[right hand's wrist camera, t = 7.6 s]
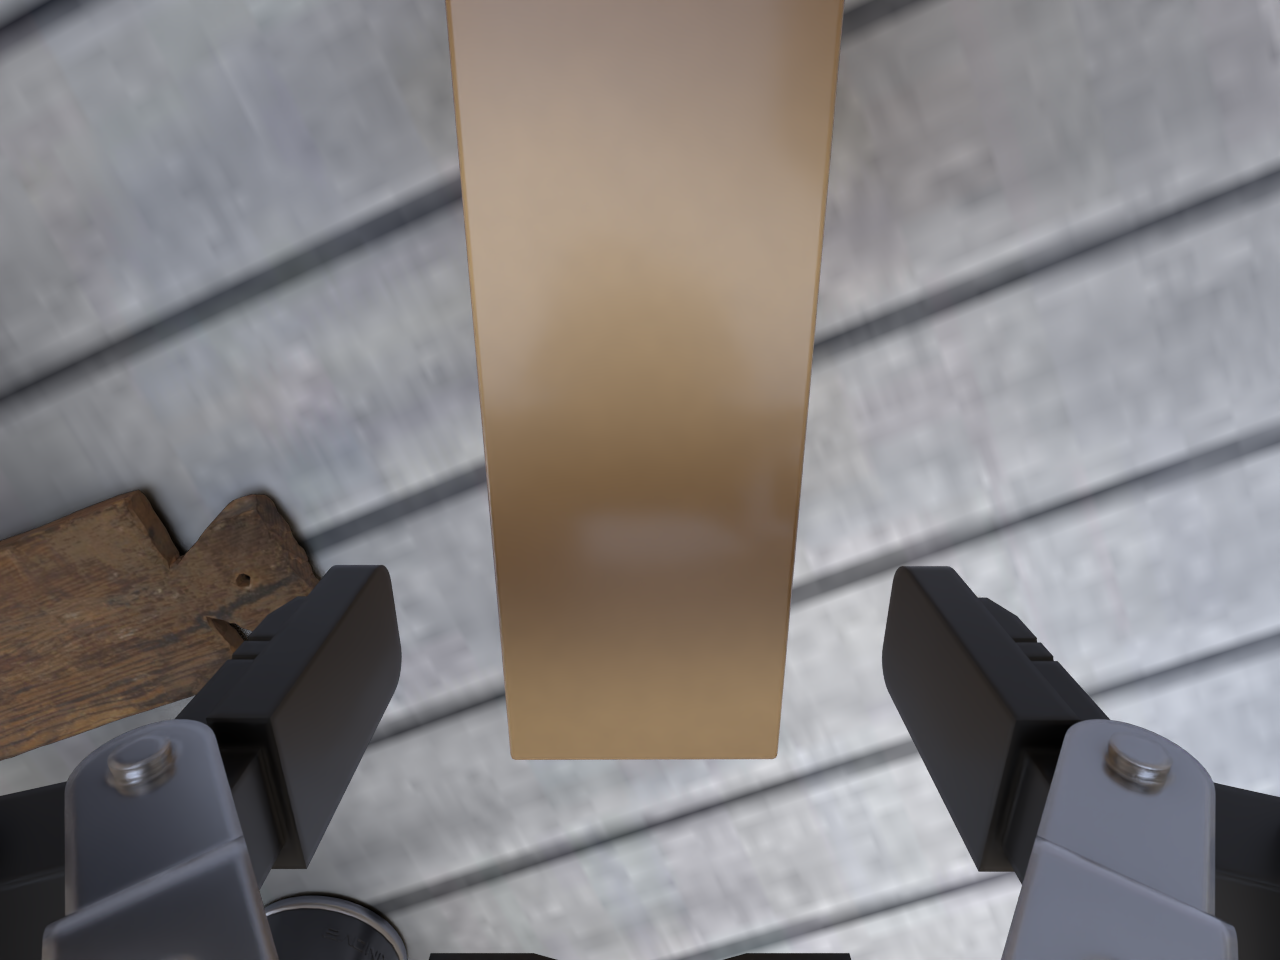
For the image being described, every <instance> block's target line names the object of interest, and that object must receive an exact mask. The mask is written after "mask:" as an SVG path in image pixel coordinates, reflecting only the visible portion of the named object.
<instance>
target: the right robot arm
mask: <svg viewBox="0 0 1280 960" xmlns="http://www.w3.org/2000/svg"><path fill="white" fill-rule="evenodd" d="M401 657H402V656H401V644H400V638H399V631H398V624H397V618H396V611H395V604H394V598H393V591H392V584H391V579H390V575H389V572H388V570H387V568H386V567H385V566H383V565H335V566H333V567H331V568H330V569H329V571H328V572H327V573H326V574H325V575H324V577H323V578H322V579H321V580H320V581H319V583H318V584H317V585H316V586H315V587H314V589H313V590H312V591H311V592H310V593H309V595H308V596H297V597H296V598H294V599H292V600H291V601H289V602H288V603H286V604H284V605H283V606H281V607H279V608H278V609H276V610H275V611H273V612H271V613H270V614H268V615H267V616H266V617H265V618H264V619H263V620H262V622H261V623H260V624H259V625H258V626H257V627H256V628H255V629H254V631H253V632H252V633H251V634H250V635H249V636H248V641H244V642H243V643H242V644H241V645H240V646H239V647H238V649H237V650H236V651H235V652H234V653H233V654H232V659H228V660H227V661H226V662H225V663H224V664H223V665H222V666H221V668H220V669H219V670H218V671H217V672H216V673H215V674H214V675H213V677H212V678H211V679H210V680H209V681H208V682H207V683H206V684H205V686H204V687H203V688H202V689H201V690H200V691H199V692H198V693H197V695H196V696H195V697H194V698H193V699H192V700H191V701H190V702H189V704H188V705H187V706H186V707H185V708H184V709H183V710H182V711H181V712H180V714H179V715H178V716H177V717H176V718H175V719H174V720H166V721H160V722H156V723H151V724H148V725H145V726H142V727H138V728H136V729H133V730H131V731H128V732H126V733H124V734H122V735H120V736H118V737H116V738H114V739H112V740H110V741H108V742H107V743H105V744H103V745H102V746H100V747H99V748H98V749H96V750H95V751H93V752H92V753H91V754H90V755H88V756H87V757H86V758H85V759H84V760H83V761H82V762H81V763H80V764H79V765H78V766H77V767H76V768H75V769H74V771H73V772H72V774H71V775H70V776H69V779H68V781H67V782H62V783H58V784H53V785H49V786H44V787H40V788H35V789H31V790H26V791H21V792H17V793H12V794H8V795H3V796H0V960H407V953H406V949H405V946H404V943H403V941H402V939H401V938H400V936H399V935H398V933H397V932H396V931H395V929H394V928H393V927H392V926H391V925H390V924H389V923H388V922H387V921H385V920H384V919H383V918H382V917H380V916H379V915H377V914H376V913H374V912H372V911H371V910H369V909H367V908H365V907H363V906H360V905H358V904H355V903H353V902H349V901H346V900H342V899H338V898H333V897H325V896H299V897H292V898H287V899H284V900H280V901H277V902H275V903H272V904H270V905H268V906H266V907H265V908H264V905H263V902H262V898H261V895H260V891H259V890H260V888H261V886H262V885H263V883H264V881H265V879H266V877H267V875H268V874H269V872H270V870H271V869H307V867H308V865H309V863H310V861H311V859H312V857H313V855H314V853H315V851H316V849H317V847H318V845H319V843H320V841H321V839H322V837H323V835H324V833H325V831H326V829H327V827H328V825H329V823H330V821H331V819H332V817H333V815H334V813H335V811H336V809H337V807H338V805H339V803H340V801H341V799H342V797H343V795H344V793H345V791H346V789H347V787H348V785H349V783H350V781H351V779H352V777H353V775H354V773H355V771H356V769H357V766H358V764H359V762H360V760H361V758H362V756H363V754H364V752H365V750H366V748H367V746H368V744H369V742H370V740H371V738H372V736H373V734H374V732H375V730H376V728H377V726H378V724H379V722H380V720H381V718H382V716H383V714H384V712H385V710H386V708H387V706H388V704H389V702H390V700H391V698H392V696H393V694H394V692H395V690H396V687H397V684H398V681H399V677H400V671H401ZM882 667H883V675H884V680H885V684H886V687H887V689H888V692H889V694H890V696H891V698H892V700H893V702H894V704H895V706H896V708H897V710H898V712H899V714H900V716H901V718H902V720H903V722H904V724H905V726H906V728H907V730H908V732H909V734H910V736H911V738H912V740H913V742H914V744H915V746H916V748H917V750H918V752H919V754H920V756H921V758H922V760H923V762H924V764H925V766H926V768H927V770H928V772H929V774H930V776H931V778H932V779H933V781H934V783H935V785H936V787H937V789H938V791H939V793H940V795H941V797H942V799H943V801H944V803H945V805H946V807H947V809H948V811H949V813H950V815H951V817H952V819H953V821H954V823H955V825H956V827H957V829H958V831H959V833H960V835H961V837H962V839H963V841H964V843H965V845H966V847H967V849H968V851H969V853H970V855H971V857H972V859H973V861H974V863H975V865H976V867H977V869H978V871H979V872H1015V873H1016V875H1017V877H1018V878H1019V880H1020V882H1021V884H1022V888H1021V891H1020V895H1019V898H1018V902H1017V905H1016V909H1015V912H1014V916H1013V920H1012V923H1011V927H1010V930H1009V934H1008V937H1007V941H1006V944H1005V948H1004V951H1003V955H1002V958H1001V960H1280V797H1276V796H1272V795H1267V794H1263V793H1258V792H1253V791H1249V790H1244V789H1240V788H1235V787H1231V786H1226V785H1222V784H1218V783H1214V782H1213V781H1212V779H1211V776H1210V775H1209V774H1208V772H1207V771H1206V769H1205V768H1204V767H1203V766H1202V765H1201V764H1200V763H1199V762H1198V761H1197V760H1196V759H1195V758H1194V757H1193V756H1192V755H1190V754H1189V753H1188V752H1187V751H1185V750H1184V749H1182V748H1181V747H1180V746H1178V745H1177V744H1175V743H1173V742H1172V741H1170V740H1168V739H1166V738H1164V737H1162V736H1160V735H1158V734H1156V733H1154V732H1152V731H1149V730H1147V729H1144V728H1142V727H1138V726H1135V725H1132V724H1129V723H1124V722H1120V721H1114V720H1110V719H1109V718H1108V717H1107V716H1106V715H1105V713H1104V712H1103V711H1102V710H1101V709H1100V708H1099V707H1098V706H1097V705H1096V703H1095V702H1094V701H1093V700H1092V699H1091V698H1090V697H1089V696H1088V695H1087V693H1086V692H1085V691H1084V690H1083V689H1082V688H1081V687H1080V686H1079V685H1078V683H1077V682H1076V681H1075V680H1074V679H1073V678H1072V677H1071V676H1070V674H1069V673H1068V672H1067V671H1066V670H1065V669H1064V668H1063V667H1062V666H1061V664H1060V663H1059V662H1058V661H1054V660H1053V656H1052V654H1051V653H1050V652H1049V651H1048V650H1047V649H1046V648H1045V647H1044V646H1043V644H1042V643H1037V638H1036V637H1035V636H1034V634H1033V633H1032V632H1031V631H1030V630H1029V629H1028V628H1027V627H1026V626H1025V624H1024V623H1023V622H1022V621H1021V620H1020V619H1019V618H1018V617H1017V616H1016V615H1014V614H1013V613H1011V612H1009V611H1008V610H1006V609H1004V608H1003V607H1001V606H1000V605H998V604H996V603H995V602H993V601H991V600H990V599H988V598H977V596H976V595H975V594H974V593H973V592H972V590H971V589H970V588H969V587H968V586H967V584H966V583H965V582H964V581H963V580H962V579H961V577H960V576H959V575H958V574H957V573H956V571H955V570H954V569H953V568H951V567H948V566H901V567H899V568H898V569H897V571H896V573H895V575H894V579H893V584H892V591H891V597H890V604H889V611H888V617H887V624H886V630H885V637H884V643H883V651H882ZM429 960H556V959H552V958H549V957H545V956H541V955H538V954H534V953H431V954H430V958H429ZM724 960H851V958H850V954H849V953H746V954H742V955H739V956H735V957H731V958H728V959H724Z"/></svg>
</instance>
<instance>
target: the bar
mask: <svg viewBox="0 0 1280 960" xmlns="http://www.w3.org/2000/svg"><path fill="white" fill-rule="evenodd" d="M844 1H845V0H445V5H446V16H447V28H448V39H449V51H450V62H451V74H452V85H453V97H454V108H455V120H456V131H457V143H458V154H459V166H460V177H461V189H462V200H463V212H464V223H465V235H466V246H467V258H468V269H469V281H470V292H471V304H472V315H473V327H474V338H475V350H476V362H477V373H478V385H479V396H480V408H481V419H482V431H483V442H484V454H485V465H486V477H487V488H488V500H489V511H490V523H491V534H492V546H493V557H494V569H495V580H496V592H497V603H498V615H499V626H500V638H501V649H502V661H503V672H504V684H505V695H506V707H507V718H508V730H509V741H510V753H511V757H512V759H515V760H584V759H774V758H776V756H777V753H778V741H779V730H780V719H781V708H782V696H783V685H784V674H785V663H786V652H787V640H788V629H789V618H790V607H791V596H792V584H793V573H794V562H795V551H796V539H797V528H798V517H799V506H800V495H801V483H802V472H803V461H804V450H805V439H806V427H807V416H808V405H809V394H810V382H811V371H812V360H813V349H814V338H815V326H816V315H817V304H818V293H819V282H820V270H821V259H822V248H823V237H824V226H825V214H826V203H827V192H828V181H829V169H830V158H831V147H832V136H833V125H834V113H835V102H836V91H837V80H838V69H839V57H840V46H841V35H842V24H843V12H844Z"/></svg>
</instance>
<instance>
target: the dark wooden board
mask: <svg viewBox="0 0 1280 960" xmlns="http://www.w3.org/2000/svg"><path fill="white" fill-rule="evenodd" d="M318 583H319V580H318V579H317V578H316V577H315V576H314V574H313V571H312V568H311V565H310V564H309V562H308V557H307V555H306V552H305V550H304V549H303V548H302V547H301V546H299V545H298V543H297V541H296V540H295V539H294V537H293V535H292V532H291V529H290V526H289V524H288V523H287V522H286V521H285V519H284V518H283V517H282V516H281V514H280V513H278V511H277V508H276V506H275V504H274V502H273V501H272V500H271V499H270V498H269V497H267V496H266V495H265V494H263V495H255V494H251V495H247V496H244V497H241V498H238V499H236V500H233V501H232V502H230V503H229V504H228V505H227V506H226V507H225V508H224V509H223V510H222V512H221V513H220V514H219V515H218V516H217V517H216V518H215V519H214V521H213V522H212V523H211V524H210V525H209V526H208V527H207V529H206V530H205V531H204V532H203V533H202V535H201V536H200V538H199V539H198V541H197V542H196V543H195V544H194V545H193V546H192V547H191V548H190V549H189V551H188V552H187V553H186V554H185V556H184V555H183V556H180V555H179V552H178V550H177V548H176V547H175V545H174V544H173V542H172V540H171V538H170V536H169V534H168V532H167V530H166V528H165V526H164V525H163V524H162V522H161V521H160V519H159V518H158V516H157V515H156V513H155V512H154V510H153V508H152V506H151V504H150V502H149V500H148V499H147V498H146V496H145V495H144V494H143V493H142V492H141V491H139V490H136V491H132V492H129V493H125V494H122V495H118V496H116V497H113V498H110V499H108V500H105V501H103V502H100V503H97V504H95V505H92V506H89V507H87V508H84V509H82V510H79V511H77V512H74V513H72V514H70V515H68V516H65V517H63V518H60V519H58V520H55V521H53V522H51V523H48V524H46V525H44V526H41V527H39V528H36V529H33V530H30V531H27V532H24V533H22V534H19V535H16V536H13V537H10V538H7V539H4V540H1V541H0V761H1V760H4V759H8V758H12V757H15V756H17V755H20V754H22V753H25V752H28V751H30V750H33V749H36V748H38V747H41V746H45V745H48V744H52V743H54V742H57V741H60V740H63V739H66V738H69V737H72V736H75V735H78V734H80V733H83V732H86V731H89V730H92V729H95V728H97V727H100V726H103V725H105V724H108V723H111V722H114V721H117V720H119V719H122V718H125V717H128V716H132V715H135V714H138V713H142V712H145V711H148V710H151V709H154V708H157V707H160V706H163V705H166V704H169V703H173V702H176V701H178V700H181V699H185V698H188V697H191V696H194V695H197V693H198V692H199V691H200V690H201V689H202V688H203V687H204V686H205V684H206V683H207V682H208V681H209V680H210V679H211V678H212V677H213V675H214V674H215V673H216V672H217V671H218V670H219V669H220V668H221V666H222V665H223V664H224V663H225V662H226V661H227V660H228V659H232V654H233V653H234V652H235V651H236V650H237V649H238V647H239V646H240V645H241V644H242V643H243V642H244V640H243V639H242V638H241V636H240V635H239V633H238V632H237V630H236V629H235V628H233V627H232V626H230V625H229V623H236V624H237V625H238V626H240V627H241V628H244V629H247V630H250V631H254V629H255V628H256V627H257V626H258V625H259V624H260V623H261V622H262V620H263V619H264V618H265V617H266V616H267V615H268V614H270V613H271V612H273V611H275V610H276V609H278V608H279V607H281V606H283V605H284V604H286V603H288V602H289V601H291V600H292V599H294V598H296V597H297V596H308V595H309V593H310V592H311V591H312V590H313V589H314V587H315V586H316V585H317V584H318ZM228 622H229V623H228Z"/></svg>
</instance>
